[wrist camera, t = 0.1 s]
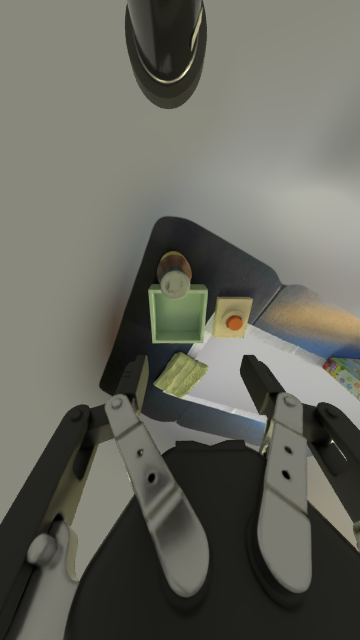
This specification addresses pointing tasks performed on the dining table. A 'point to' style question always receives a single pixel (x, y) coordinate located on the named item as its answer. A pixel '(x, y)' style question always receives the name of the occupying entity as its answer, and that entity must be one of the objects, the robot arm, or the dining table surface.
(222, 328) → the panel
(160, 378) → the washcloth
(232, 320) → the button
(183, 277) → the sauce bottle
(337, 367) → the snack box
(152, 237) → the dining table surface
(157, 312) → the sage green tray
